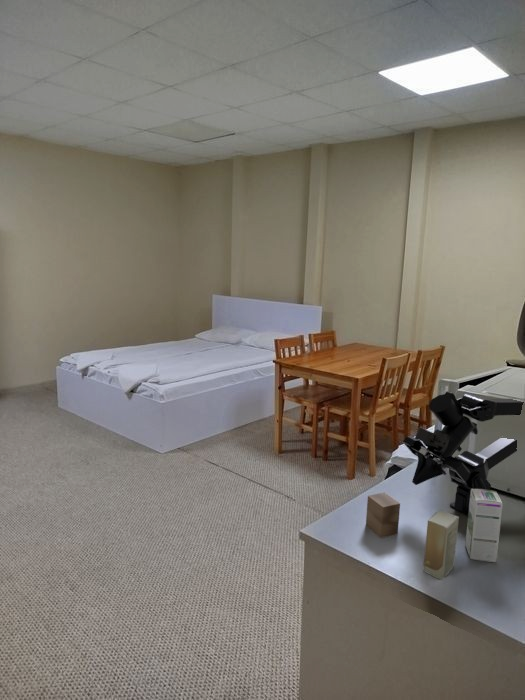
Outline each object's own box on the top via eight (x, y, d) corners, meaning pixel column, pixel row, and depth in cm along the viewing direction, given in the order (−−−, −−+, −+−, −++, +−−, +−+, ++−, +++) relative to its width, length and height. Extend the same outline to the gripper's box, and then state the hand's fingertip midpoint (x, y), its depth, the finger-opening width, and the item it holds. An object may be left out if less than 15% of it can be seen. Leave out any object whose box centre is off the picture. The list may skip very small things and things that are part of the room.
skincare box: (434, 559, 109) (440, 508, 106) (454, 567, 106) (460, 516, 103) (421, 571, 104) (426, 519, 102) (441, 581, 101) (447, 527, 99)
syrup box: (497, 563, 108) (504, 502, 105) (468, 559, 109) (475, 499, 106) (490, 548, 113) (497, 490, 111) (463, 544, 114) (470, 487, 112)
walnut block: (382, 521, 124) (384, 492, 122) (397, 533, 118) (400, 503, 117) (365, 525, 122) (367, 495, 120) (380, 538, 116) (383, 507, 115)
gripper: (411, 406, 129) (373, 451, 127) (466, 429, 112) (424, 481, 110) (431, 430, 134) (395, 474, 131) (487, 456, 117) (447, 507, 115)
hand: (413, 483), depth 122 cm, fingers closed
